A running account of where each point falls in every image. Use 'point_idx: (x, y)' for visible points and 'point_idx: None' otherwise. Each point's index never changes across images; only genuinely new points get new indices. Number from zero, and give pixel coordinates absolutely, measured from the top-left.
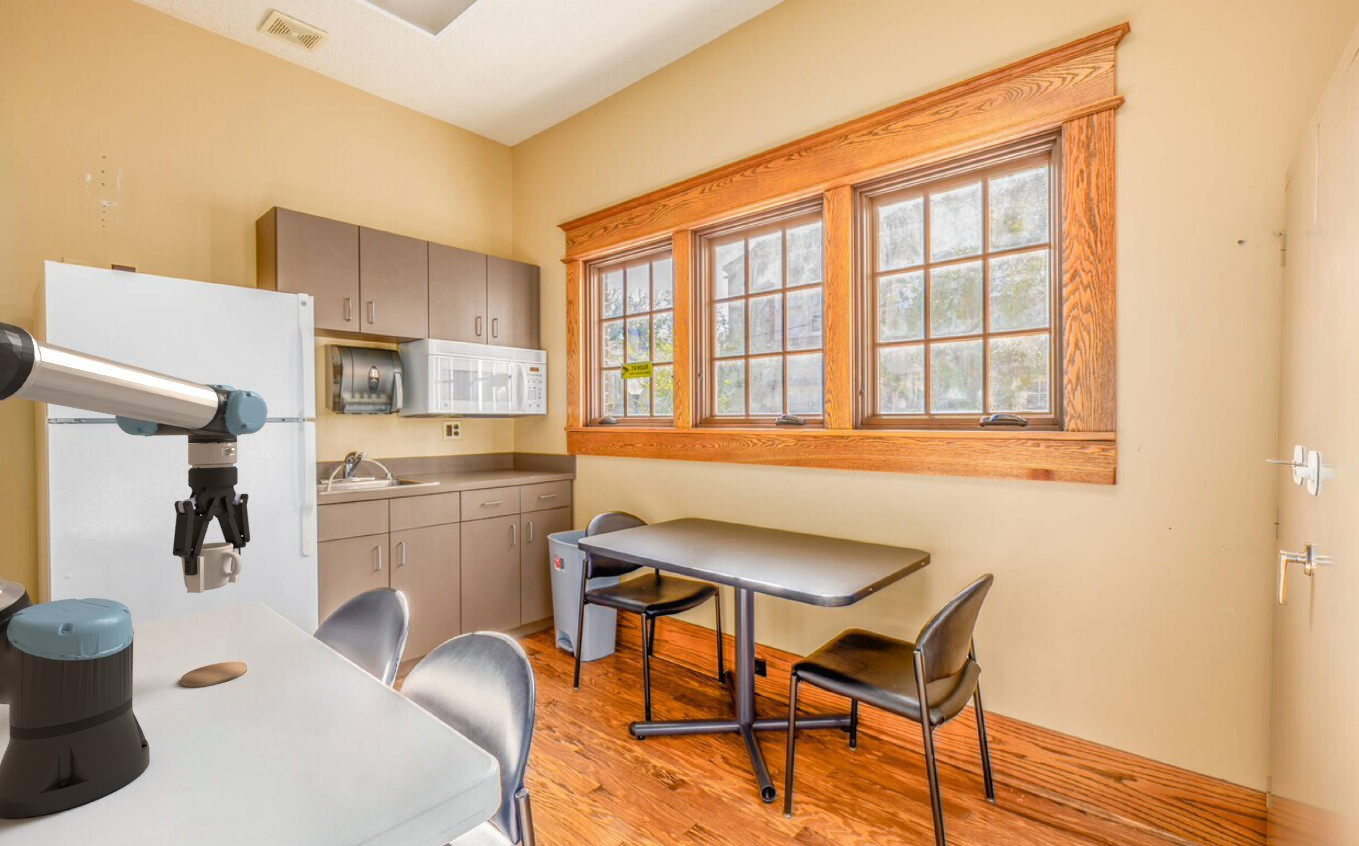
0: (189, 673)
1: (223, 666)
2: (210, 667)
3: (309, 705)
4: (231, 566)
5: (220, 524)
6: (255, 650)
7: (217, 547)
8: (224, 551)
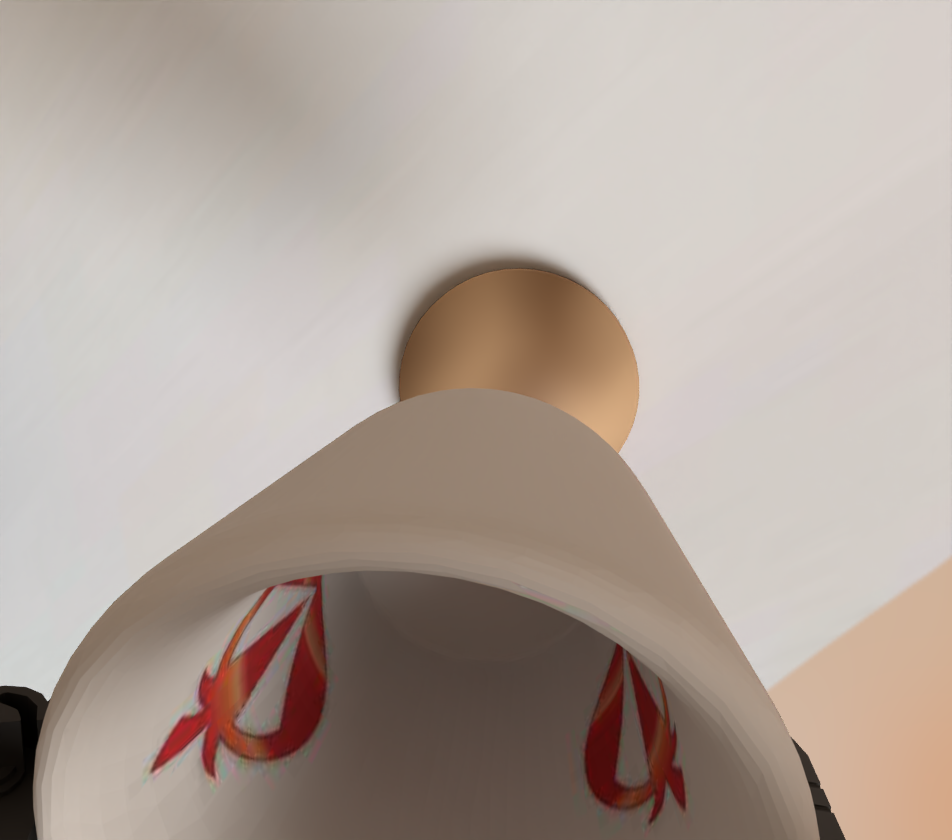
0: (501, 287)
1: (579, 387)
2: (571, 333)
3: None
4: None
5: None
6: (855, 353)
7: (721, 810)
8: None
